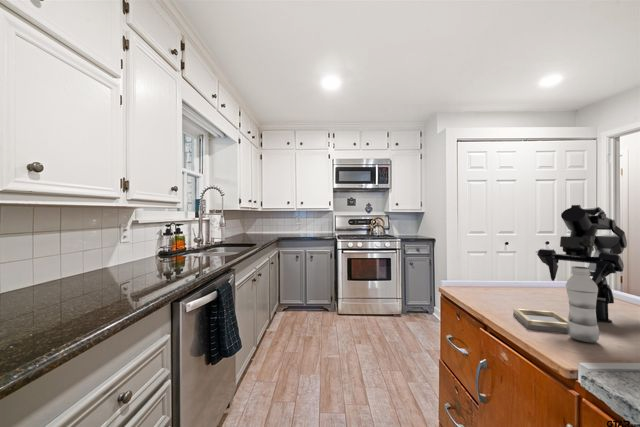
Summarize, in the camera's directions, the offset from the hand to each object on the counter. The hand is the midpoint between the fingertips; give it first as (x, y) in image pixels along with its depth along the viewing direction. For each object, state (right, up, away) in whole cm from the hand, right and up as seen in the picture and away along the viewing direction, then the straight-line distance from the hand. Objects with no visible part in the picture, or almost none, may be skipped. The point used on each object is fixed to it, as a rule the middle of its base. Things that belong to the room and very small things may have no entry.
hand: (571, 283), depth 81 cm
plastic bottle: (-4, -14, -7) cm, 16 cm away
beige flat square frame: (-5, -14, +5) cm, 16 cm away
